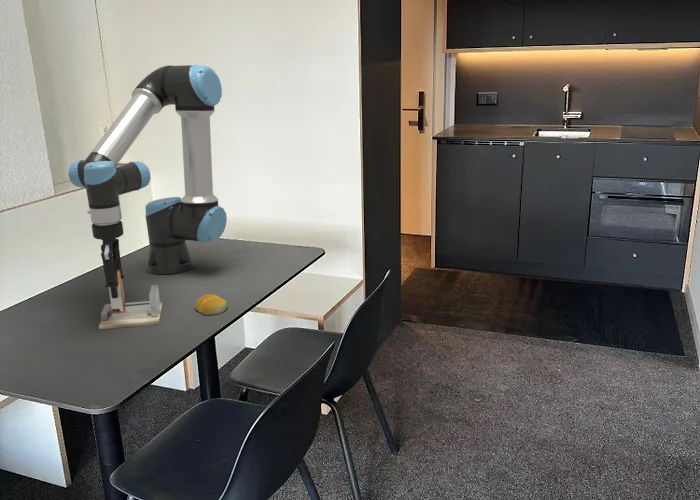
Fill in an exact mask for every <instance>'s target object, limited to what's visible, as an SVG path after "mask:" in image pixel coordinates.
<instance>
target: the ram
mask: <svg viewBox="0 0 700 500" xmlns="http://www.w3.org/2000/svg"><path fill="white" fill-rule="evenodd" d="M121 275H122V274H121V272H120V270H119V269H117V276H118V283H119V285H120V292H121V299H122V306H123V308H120V309H112V311H113V312H124V311H135V310H146V309H147V310H148V314H151V316H158V312H159V308H160V302H161V300H160V293H159V292H160V291H159V284H152V285H151V287H150V291H149V293H148V294H149V295H148V297H149V298H148V301H150V304H146V305H134V306H125V303H126V301H125V302H124V300H125V293H124V294H123V292H124V286H123V287H122V285H123V279H122V280H121Z"/></svg>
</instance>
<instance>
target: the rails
mask: <svg viewBox="0 0 700 500" xmlns="http://www.w3.org/2000/svg"><path fill="white" fill-rule="evenodd" d="M146 304H150V300H145V301H135V302H125V306H134V305H146ZM111 312H112V308H111V303H105V304H104V305H103V308H102V309H101V313H100V319H101V320H102V321H108V320H109V317H110V315H111ZM145 317H148V310H147V309H146V310H135V311H124V312H113V313H112V319H113V320H124V319H134V318H145ZM101 320H100V321H101Z"/></svg>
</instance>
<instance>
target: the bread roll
mask: <svg viewBox="0 0 700 500" xmlns="http://www.w3.org/2000/svg"><path fill="white" fill-rule="evenodd" d="M194 307H195V309H196V311H197V312H199V313H200V314H202V315H204V316H210V315H212V316H213V315H218V314H222V313H224V312H225V311H226V310H227V308H228V302H227V300H225V299H224V298H221V297H220V296H219V295H216V294H213V293H212V294H211V293H208V294H204V295H202V296H201V297H199V298H198V299H197V300H196V302H195V304H194Z"/></svg>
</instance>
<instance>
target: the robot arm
mask: <svg viewBox="0 0 700 500" xmlns="http://www.w3.org/2000/svg"><path fill="white" fill-rule="evenodd" d="M222 90H223V88H222V83H221V79H220V78H219V76H218V74H217V73H216V71H215V70H214V69H213V68H212V67H210V66H206V65H199V64H194V65H193V64H191V65H190V64H189V65H164V66H161V67H158V68H157V69H155V70H153V71H151V72H150V73H148V75H146V76H145V77H144V78H143V79H142V80H141V81H140V82H138V84H137V85H136V87H135V88H134V89H133V90H132V91H131V99H130V100H129V102H128V103H127V104H126V106H125V107H124V108H123V109H122V111H121V112H120V113H119V115H118V116H117V118H115V120H114V121H113V122H112V124H111V125H110V127H109V128H108V129H107V130H106V132H105V133H104V135H102V137H101V138H100V140H99V142H97V144H96V145H95V146H94V148H93V149H92V150H91V152H90V153H89V154H88V156H87V157H85V159H82V160H81V159H80V160H76V161H73V162H72V163H71V164H70V165H69V169H68V174H67V175H68V179H69V181H70V183H72V185H73V186H75V187H77V188H81V189H86V196H87V202H88V203H87V204H88V209H87V214H88V215H90V217H89V218H90V222H91V223H92V224H91V230H92V231H91V232H92V237H93V238H94V239H96V240H101V241H102V244H101V245H100V250H101V252H100V256H101V260H102V264H103V266H102V267H103V270H104V271H103V272H104V278H105V283H106V284H104V286H105V288H108V292H109V300H110V304H111V308H112V309H120V308H123V306H122V299H121V292H120V285H119V283H118V276H117V269H119V270H120V272H121V280H122V281H123V279H125V274H123V269H122V260H121V251H120V240H119V238H120V237H122V236H124V225H123V222H122V221H121V220H122V209H121V202H120V196H121V195H124V194H128V193H132V192H135V191H140V190H141V189H143V188H146V187H148V185H150V184H149V183H150V182H151V178H152V177H151V171H150V168H149V167H148V166H147V164H145V163H144V162H142V161H139V160H138V161H129V162H127V163H125V162H124V163H123V162H122V163H121V162H120V161H121V160H122V159H123V157H124V156H125V155H126V153H127V152H128V150H130V148H131V147H132V145H133V144H134V142H135V141H136V140H137V138H138V137H139V135H140V134H141V133H142V131H143V130H144V128H145V127H146V125H147V124H148V123H149V122H150V120H151V118H152V117H153V116H154V115H157V114H160V112H161V111H162V109H163V108H165V107H167V106H170V105H173V106H175V107H174V108H175V109H174V110H175V112H176V114H178V115H179V117H180V121H181V137H182V138H181V141H182V144H181V145H182V161H183V163H182V164H183V179H184V196H182V197H179V196H171V197H163V198H158V199H155V200H151V201H149V202H148V203H147V204H146V205H145V206H144V207H145V215H144V216H145V221H146V222H145V223H146V229H147V235H148V244H149V249H148V253H147V257H146V261H145V266H146V271H147V272H148V273H150V274H153V275H154V274H155V275H174V274H179V273H183V272H186V271H188V270H190V269H191V268H193V267H194V265H195V264H194V258H193V255H192V253H191V251H190V249H189V247H188V245H187V242H186V241H193V242H199V243H214V242H216V241H218V240H219V239H220V238H221V237H222V236H223V233H224V232H225V230H226V228H227V227H226V226H227V222H228V221H227V220H228V218H227V217H228V216H227V212H226V211H225V209H224V208H223V207H222V206H221V205H219V199H218V197H217V196H216V195H214V187H213V186H214V185H213V184H214V183H213V162H212V160H213V159H212V142H211V141H212V140H211V120H210V119H211V116H212V115H213V114H214V113H215V106H217V105H218V104H219V103H220V102H221V99H222V95H223V91H222ZM122 287H123V288H124V286H123V284H122ZM123 294H124V295H125V293H124V291H123ZM124 302H125V303H126V301H125V299H124Z"/></svg>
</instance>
